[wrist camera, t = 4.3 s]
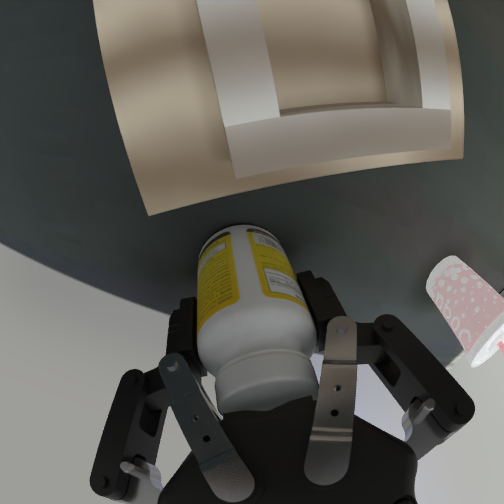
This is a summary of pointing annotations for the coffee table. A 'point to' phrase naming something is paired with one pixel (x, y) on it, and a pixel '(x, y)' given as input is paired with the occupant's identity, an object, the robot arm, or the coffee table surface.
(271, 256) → the supplement bottle
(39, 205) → the coffee table surface
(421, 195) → the coffee table surface
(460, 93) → the socket board
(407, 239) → the coffee table surface
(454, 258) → the beverage cup
